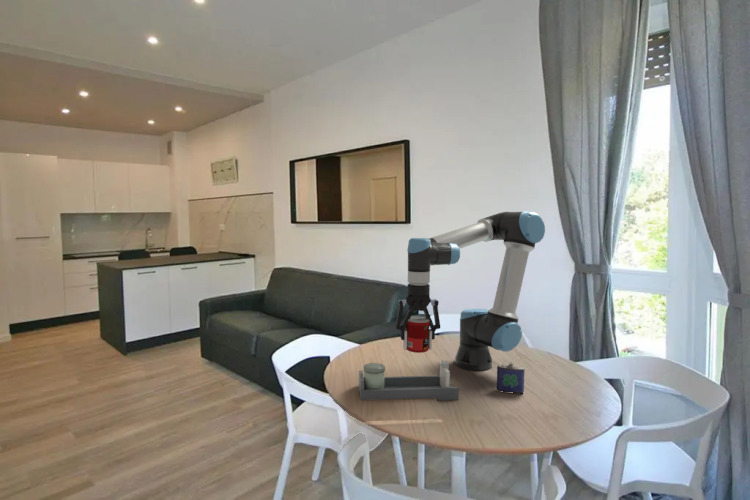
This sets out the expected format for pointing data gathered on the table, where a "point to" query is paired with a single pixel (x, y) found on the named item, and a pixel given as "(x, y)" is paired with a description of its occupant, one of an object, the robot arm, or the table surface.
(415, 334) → the canned food
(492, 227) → the robot arm
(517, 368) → the flask
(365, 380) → the green jar
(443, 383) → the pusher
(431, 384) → the lane
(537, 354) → the table surface
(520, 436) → the table surface
